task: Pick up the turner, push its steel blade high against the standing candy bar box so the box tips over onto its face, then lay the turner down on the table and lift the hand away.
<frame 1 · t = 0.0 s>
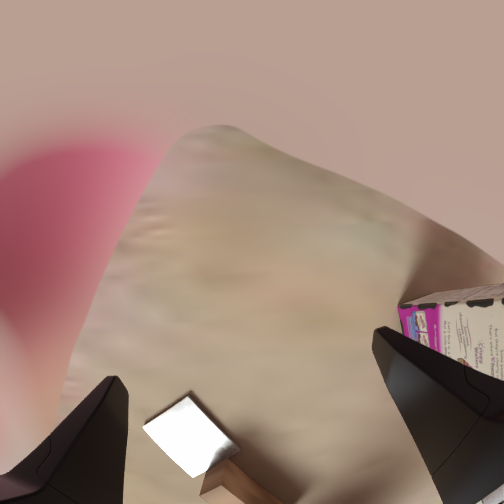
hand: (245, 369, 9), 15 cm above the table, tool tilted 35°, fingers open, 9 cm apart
turner: (250, 490, 21), on the table
candy bar box: (424, 350, 23), on the table
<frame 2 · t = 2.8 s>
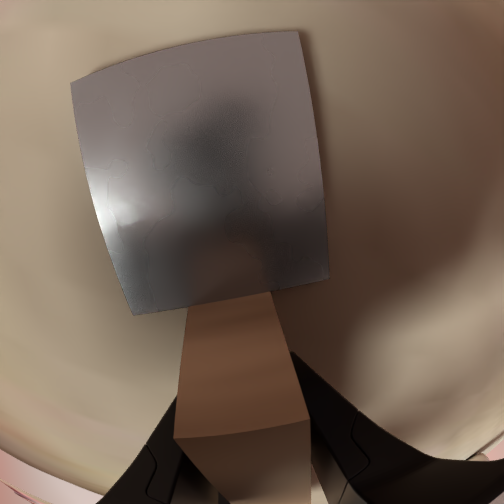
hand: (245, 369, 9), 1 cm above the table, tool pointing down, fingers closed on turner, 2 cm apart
turner: (254, 391, 11), on the table, touching gripper
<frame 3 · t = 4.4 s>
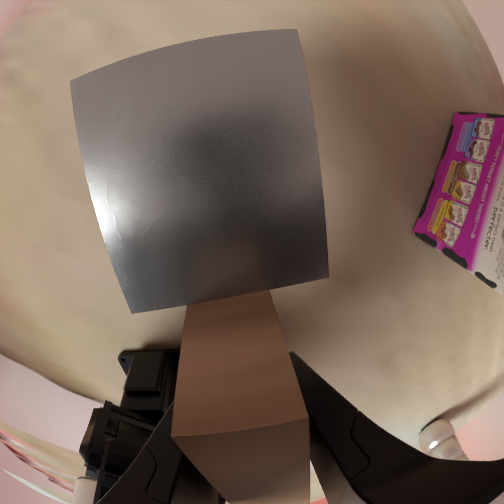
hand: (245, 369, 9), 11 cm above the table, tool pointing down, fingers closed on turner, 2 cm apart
turner: (253, 390, 11), point 10 cm above the table, touching gripper
plastic bottle: (430, 424, 35), on the table
candy bar box: (451, 181, 19), on the table
cylinder vase: (104, 488, 37), on the table
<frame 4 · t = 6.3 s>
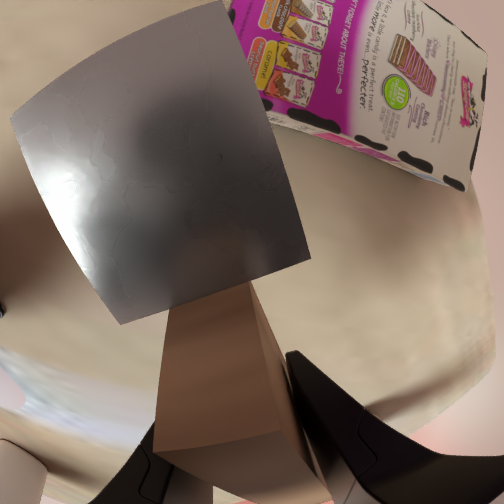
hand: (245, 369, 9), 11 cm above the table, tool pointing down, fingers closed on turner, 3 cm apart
turner: (260, 378, 11), point 10 cm above the table, tilted 5°, touching gripper
candy bar box: (226, 13, 11), point 2 cm above the table
cylinder vase: (23, 455, 32), on the table
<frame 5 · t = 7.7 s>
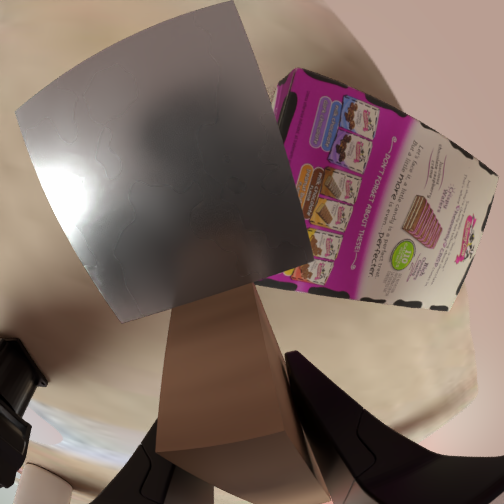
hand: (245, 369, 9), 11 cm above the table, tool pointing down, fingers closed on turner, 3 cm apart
turner: (259, 379, 11), point 10 cm above the table, tilted 5°, touching gripper
candy bar box: (253, 167, 15), point 2 cm above the table
cylinder vase: (48, 475, 35), on the table
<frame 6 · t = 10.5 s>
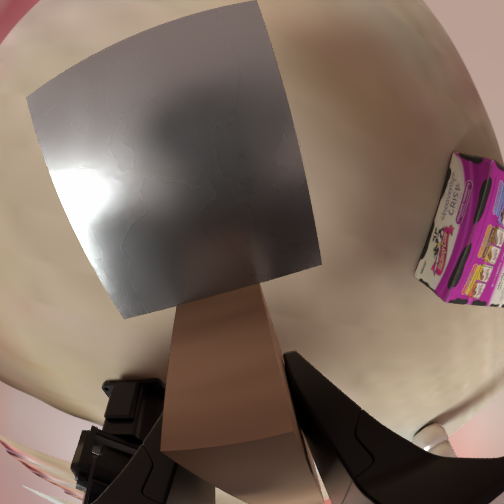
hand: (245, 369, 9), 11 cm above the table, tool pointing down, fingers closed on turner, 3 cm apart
turner: (258, 379, 11), point 10 cm above the table, touching gripper
plastic bottle: (423, 429, 36), on the table
candy bar box: (450, 220, 17), point 2 cm above the table
when the fingers open (2 cm above the table, at t = 12.8 s): turner stays where it is, on the table.
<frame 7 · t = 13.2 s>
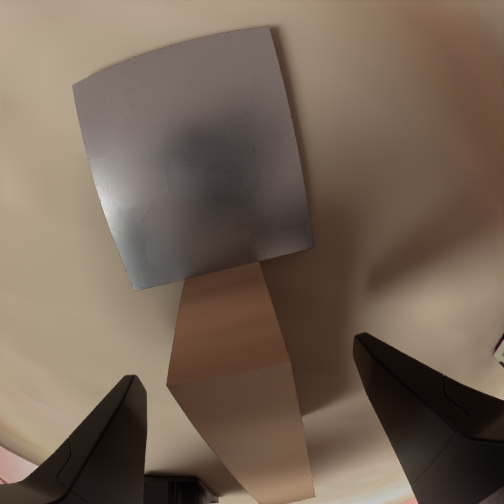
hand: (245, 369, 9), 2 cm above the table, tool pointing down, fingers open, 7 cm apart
turner: (253, 366, 11), on the table
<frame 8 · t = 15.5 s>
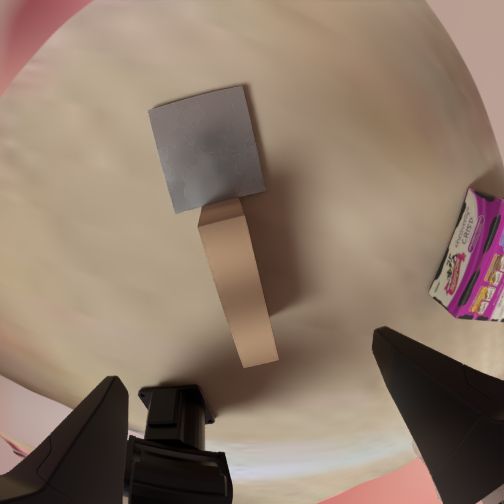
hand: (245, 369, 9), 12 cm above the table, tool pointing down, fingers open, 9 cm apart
turner: (237, 266, 21), on the table
candy bar box: (463, 248, 20), point 2 cm above the table
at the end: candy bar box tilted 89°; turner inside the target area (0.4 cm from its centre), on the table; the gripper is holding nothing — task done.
